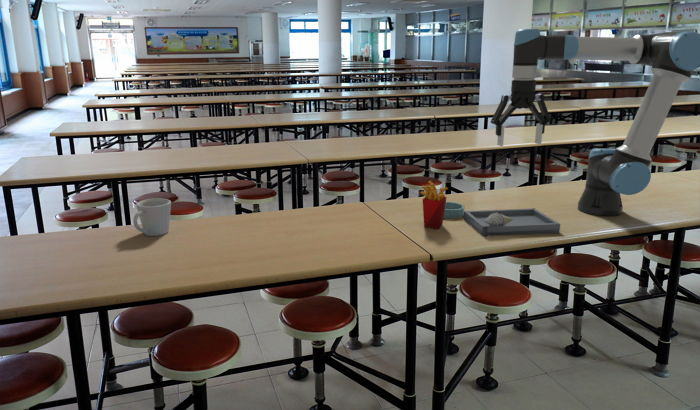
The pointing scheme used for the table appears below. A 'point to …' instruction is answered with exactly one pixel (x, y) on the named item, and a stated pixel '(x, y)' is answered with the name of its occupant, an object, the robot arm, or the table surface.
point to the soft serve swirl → (497, 219)
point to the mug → (153, 216)
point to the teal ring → (453, 210)
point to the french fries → (433, 206)
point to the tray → (512, 222)
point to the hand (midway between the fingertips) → (519, 144)
